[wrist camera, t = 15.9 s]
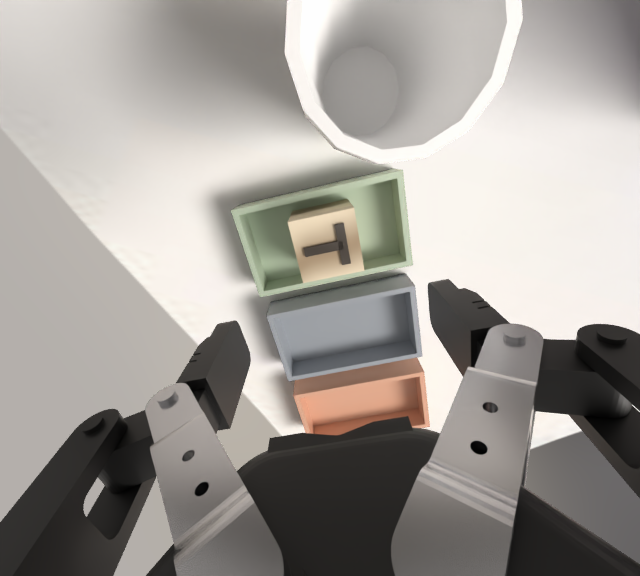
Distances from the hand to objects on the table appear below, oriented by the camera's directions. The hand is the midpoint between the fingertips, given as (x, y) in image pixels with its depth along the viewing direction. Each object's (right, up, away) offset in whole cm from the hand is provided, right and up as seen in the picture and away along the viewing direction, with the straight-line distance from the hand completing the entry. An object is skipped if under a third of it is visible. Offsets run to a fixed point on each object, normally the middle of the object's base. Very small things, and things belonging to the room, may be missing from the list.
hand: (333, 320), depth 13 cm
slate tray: (+2, -2, +20) cm, 20 cm away
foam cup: (+3, +17, +12) cm, 20 cm away
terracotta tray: (+4, -11, +24) cm, 26 cm away
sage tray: (0, +7, +16) cm, 17 cm away
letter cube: (0, +6, +15) cm, 17 cm away
